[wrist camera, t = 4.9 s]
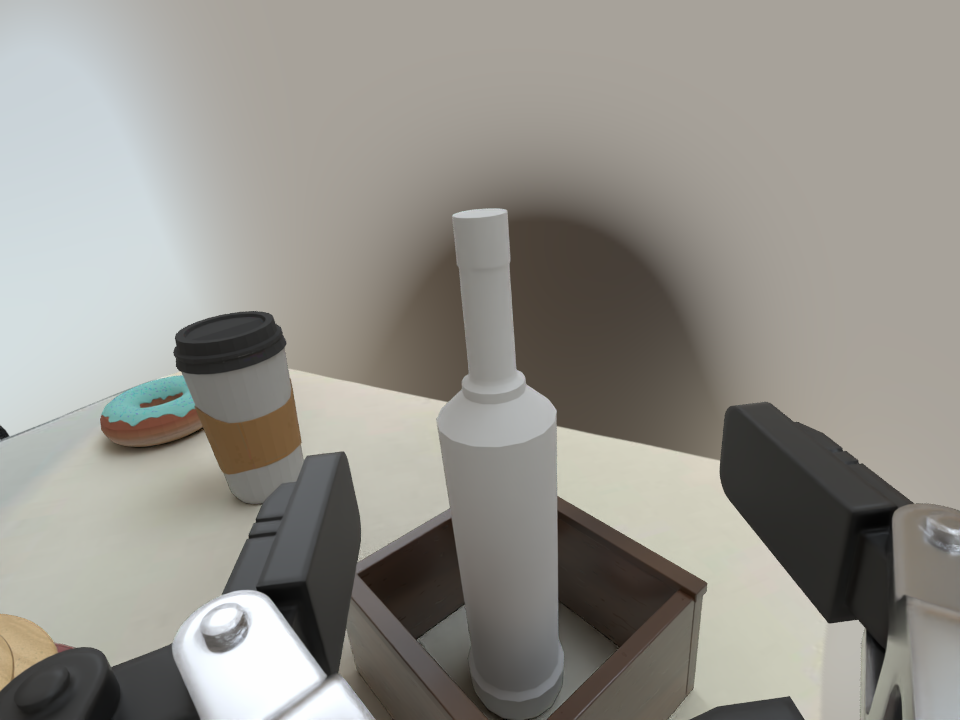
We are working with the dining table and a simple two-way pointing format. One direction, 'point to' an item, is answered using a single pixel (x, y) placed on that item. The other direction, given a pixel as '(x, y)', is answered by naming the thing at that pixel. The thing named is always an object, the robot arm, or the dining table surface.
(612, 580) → the crate
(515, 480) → the bottle
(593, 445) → the dining table surface
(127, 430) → the donut
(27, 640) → the kitchen canister
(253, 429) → the coffee cup
